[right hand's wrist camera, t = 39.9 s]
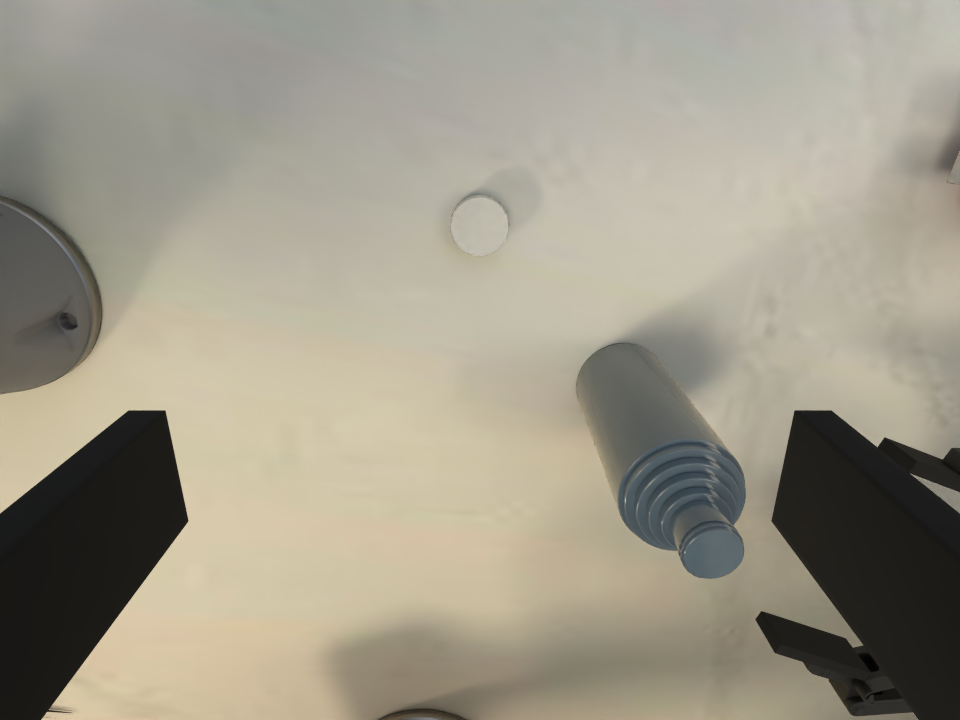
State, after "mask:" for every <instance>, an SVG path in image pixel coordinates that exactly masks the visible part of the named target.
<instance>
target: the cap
mask: <svg viewBox="0 0 960 720" xmlns="http://www.w3.org/2000/svg"><path fill="white" fill-rule="evenodd" d="M506 214H507V213H506V211H505V210H504V208H503V207H502V206H501V204H500V202H498V201H496V200H495V199H493V198H491V197H490V196H485V195H479V194H478V195H474V196H470V197H467V198H466V199H464V200H463V201H462V202H461V203H459V204H458V205H457V207H456V209H455V211H454V213H452V216H451V217H452V219H451V225H450V228H451V234H452V237H453V240H454V242H455V243H456V245H457V246H458V247H459V248H460V249H461V250H462V251H464V252H466V253H468V254H470V255H474V256H486V255H489V254H492V253H494V252H495V251H497V250H498V249H499V248H500V247H501V246H502V245H503V243H504V242H505V240H506V238H507V235H508V230H509V222H508V219H507V215H506Z"/></svg>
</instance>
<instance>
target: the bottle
mask: <svg viewBox="0 0 960 720" xmlns="http://www.w3.org/2000/svg"><path fill="white" fill-rule="evenodd" d="M576 390H577V396H578V400H579V403H580V405H581V408H582V411H583V414H584V416H585V419H586V422H587V425H588V427H589V430H590V433H591V436H592V438H593V441H594V444H595V447H596V449H597V452H598V455H599V458H600V460H601V463H602V466H603V469H604V471H605V474H606V477H607V480H608V482H609V485H610V488H611V491H612V493H613V496H614V499H615V502H616V505H617V507H618V510H619V513H620V515H621V517H622V520H623V521H624V523H625V524H626V526H627V527H628V528H629V529H630V530H631V531H632V532H633V533H634V534H636V535H637V536H638V537H639V538H641V539H642V540H643V541H645V542H646V543H648V544H650V545H652V546H654V547H657V548H660V549H665V550H672V551H678V553H679V556H680V559H681V561H682V563H683V566H684V567H685V568H686V570H687V571H688V572H690V573H691V574H692V575H694V576H696V577H699V578H708V579H712V578H719V577H722V576H725V575H727V574H729V573H731V572H732V571H733V570H735V569H736V568H737V567H738V565H739V564H740V563H741V561H742V559H743V556H744V546H743V541H742V538H741V536H740V535H739V533H738V531H737V530H736V529H735V527H734V526H733V525H734V524H735V523H736V521H737V520H738V518H739V516H740V514H741V512H742V510H743V507H744V503H745V496H746V494H745V479H744V474H743V471H742V469H741V467H740V465H739V463H738V461H737V460H736V459H735V457H734V456H733V455H732V454H731V452H730V451H729V450H728V448H727V447H726V446H725V444H724V443H723V442H722V441H721V439H720V438H719V437H718V435H717V434H716V433H715V432H714V430H713V429H712V428H711V426H710V425H709V424H708V422H707V421H706V420H705V419H704V417H703V416H702V415H701V413H700V412H699V411H698V410H697V408H696V407H695V406H694V404H693V403H692V402H691V401H690V399H689V398H688V397H687V395H686V394H685V393H684V391H683V390H682V389H681V388H680V386H679V385H678V384H677V382H676V381H675V380H674V379H673V377H672V376H671V375H670V373H669V372H668V371H667V369H666V368H665V367H664V366H663V364H662V363H661V362H660V360H659V359H658V358H657V357H656V356H655V355H654V354H653V353H652V352H651V351H649V350H648V349H646V348H644V347H642V346H639V345H635V344H628V343H621V344H614V345H610V346H607V347H605V348H603V349H601V350H599V351H597V352H596V353H595V354H593V355H592V356H591V357H590V358H589V359H588V360H587V361H586V362H585V364H584V365H583V367H582V368H581V370H580V373H579V375H578V379H577V387H576Z"/></svg>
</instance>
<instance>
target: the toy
mask: <svg viewBox="0 0 960 720" xmlns="http://www.w3.org/2000/svg"><path fill="white" fill-rule="evenodd" d="M947 183H953V184H960V151H959V153H958V156H957V158H956V161H955V163H954V166H953V168H952V171H951V173H950V176H949V178H948V181H947Z"/></svg>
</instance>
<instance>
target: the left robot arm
mask: <svg viewBox="0 0 960 720" xmlns="http://www.w3.org/2000/svg"><path fill="white" fill-rule="evenodd" d="M878 448H879V449H880V450H881V451H882V452H884V453H885V454H886V455H887V456H889V457H890V458H891V459H892V460H894V461H895V462H896V463H897V464H898V465H900V466H901V467H902V468H903V469H905V470H906V471H907V472H908V473H911V474H913V475H916V476H918V477H921V478H924V479H926V480H929V481H932V482H934V483H937V484H940V485H942V486H945V487H948V488H950V489H953V490H955V491H958V492H960V448H951V450H950V451H949V452H948V454H947V455H946V456H945V458H944V459H943V460H942V459H939V458H937V457H934V456H932V455H929V454H926V453H924V452H921V451H919V450H916V449H914V448H911V447H908V446H906V445H903V444H901V443H898V442H895V441H893V440H890V439H888V438H884V439H883V440H882V442H881V443H880V445H879V446H878ZM755 620H756V621H757V623H758V625H759V626H760V628H761V630H762V632H763V633H764V635H765V637H766V638H767V640H768V642H769V644H770V645H771V647H772V649H773V651H774V652H775V653H777V654H780V655H783V656H786V657H789V658H792V659H796V660H799V661H802V662H803V663H804V665H805V666H806V668H807V669H808V670H809V671H810V672H811V673H812V674H815V675H818V676H821V677H824V678H825V677H826V678H828V679H829V682H830V684H831V685H832V687H833V688H834V690H835V691H836V693H837V694H838V696H839V697H840V699H841V701H842V702H843V704H844V705H845V707H846V708H847V710H848V711H849V713H850V714H851V715H853V716H867V715H881V714H894V713H908V712H913V711H912V710H911V708H910V707H909V706H908V704H907V703H906V702H905V700H904V699H903V698H902V696H901V695H900V694H899V692H898V691H897V689H896V688H895V687H894V685H893V684H892V683H891V681H890V680H889V679H888V677H887V676H886V675H885V673H884V672H883V671H882V669H881V668H880V667H879V665H878V664H877V663H876V661H875V660H874V658H873V657H872V656H871V654H870V653H869V652H868V650H867V649H866V648H865V646H864V645H863V646H859V647H855V648H852V646H851V645H850V644H849V642H848V641H847V640H846V638H843V637H840V636H837V635H834V634H831V633H827V632H824V631H821V630H818V629H815V628H812V627H809V626H806V625H803V624H800V623H797V622H794V621H791V620H787V619H784V618H781V617H778V616H775V615H772V614H769V613H766V612H763V611H761V612H760V614H759V615H758V617H757V618H756V619H755ZM381 720H464V719H462V718H460V717H458V716H455V715H452V714H449V713H445V712H440V711H433V710H411V711H404V712H399V713H396V714H393V715H390V716H387V717H385V718H383V719H381Z"/></svg>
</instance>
